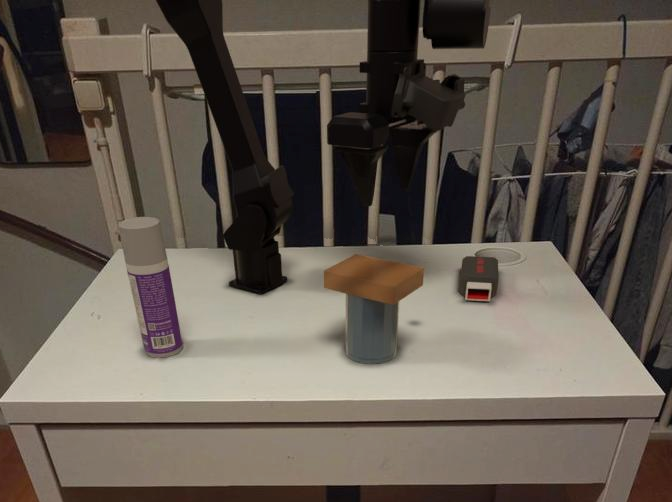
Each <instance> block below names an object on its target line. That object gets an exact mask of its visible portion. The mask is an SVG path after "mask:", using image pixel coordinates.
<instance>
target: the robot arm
mask: <svg viewBox="0 0 672 502" xmlns="http://www.w3.org/2000/svg"><path fill="white" fill-rule="evenodd" d="M155 2H156V4H157V6H158V8H159V10H160V11H161V13H162V15H163V18H164V19H165V21H166V22H167V24H168V25H169V27H170V28H171V29H172V30H173V32H175V33H176V35H177V36H178V38H179V39H180V40H181V41H182V42H183V44H184V45H185V47H186V49H187V51H188V54H189V56H190V59H191V62H192V65H193V67H194V70H195V73H196V75H197V78H198V81H199V84H200V86H201V89H202V91H203V95H204V97H205V100H206V102H207V105H208V108H209V110H210V112H211V116H212V120H213V122H214V124H215V126H216V130H217V132H218V135H219V137H220V140H221V143H222V146H223V148H224V151H225V154H226V157H227V159H228V162H229V165H230V167H231V173H232V199H233V204H234V208H235V213H236V218H235V219H234V221H232V222H231V224H230V225H229V226H228V228H227V229H226V230H225V231H224V232H223V234H222V237H223V239H224V242H225V244H226V247H227V249H229V250H230V251H232V257H233V264H234V274H235V278H234V279H232V280H230V281H229V282H228V286H229V287H233V288H237V289H240V290H244V291H248V292H252V293H256V294H264V293H266V292H268V291H270V290H272V289H274V288H276V287H278V286H280V285H282V284H283V283H286V282H288V276H285V275H283V266H282V254H281V252H280V249H279V246H280V245H279V241H278V240H275V238H274V237H276V236H277V235H279V234H280V233H281V230H282V226H283V224H285V223H286V222H287V221H288V219H289V218H290V216H291V213H292V212H293V200H292V198H293V197H294V196H295V192H294V191H293V190H292V189H291V186H290V184H289V180H288V176H287V171H286V168H285V166H284V165H280V166H278V167H277V168H275V167H274V166H273V165H272V163H271V162H270V161H269V160H268V158H267V156H266V155H265V153H264V150H263V147H262V145H261V142H260V138H259V136H258V133H257V130H256V127H255V124H254V121H253V117H252V115H251V112H250V109H249V105H248V103H247V100H246V97H245V94H244V91H243V88H242V86H241V83H240V80H239V77H238V73H237V71H236V67H235V65H234V62H233V59H232V56H231V53H230V50H229V47H228V44H227V42H226V39H225V35H224V22H223V21H224V20H223V19H224V18H223V8H224V7H223V0H155ZM421 3H422V2H421V0H367V37H366V38H367V42H366V43H367V44H366V60H364V61H360V62H359V74H360V73H361V74H366V91H365V93H366V94H365V95H366V96H365V97H366V99H365V100H366V101H365V102H361V103H358V112H353V111H350V112H345V113H342V114H338V115H337V114H336V115H334V116H332V118H331V119H330V120H329V121H328V123H327V124H326V144H327V145H328V146H330V145H331V146H333V150H334V152H338V154H339V155H340V158H341V160H342V161H343V163H344V165H345V167H346V170H347V171H348V173H349V175H350V178H351V180H352V182H353V184H354V187H355V190H356V191H357V194H358V195H359V198H360V201H361V203H362V205H363V206H364V207H372V206H373V202H374V196H375V191H376V183H377V182H376V181H377V174H378V173H377V172H378V163H379V160H380V159H381V158H382V156H383V155H384V154H385V152H387V150H388V149H389V145H385V144H386V142H387V139H388V137H389V135H390V141H391V146H392V154H393V159H394V164H395V171H396V176H397V181H398V185H399V186H398V187H399V189H400V190H404V191H407V190H408V189H410V185H411V183H412V180H413V176H414V174H415V171H416V168H417V166H418V165H417V164H418V162H419V159H420V156H421V153H422V150H423V148H424V145H425V143H426V142H427V141H429V139H430V138H432V137H433V136H434V135H435V134H436V133H438V132H439V131H442V130H444V128H447V127H449V128H451V127H453V125H454V122H455V120H456V117H457V114H458V113H459V111H461V110H463V109H464V108H465V106H466V102H465V98H466V96H467V95H466V93H465V78H463V77H461V76H459V75H457V74H455V73H453V74H449V75H447V76H445V78H444V79H443V80H440V79H438V78H437V79H432V78H430V77H428V76H427V75H426V73H427V71H426V70H427V63H426V62H425V59H424V58H418V54H419V36H420V21H421V20H420V19H421V18H420V17H421ZM491 9H492V7H491V6H490V0H423V10H422V37H423V39H426V40H430V42H431V43H430V44H431V48H432V50H473V49H474V50H475V49H477V50H478V49H479V50H480V49H481V50H484V49H485V48H486V43H487V38H488V34H489V27H490V17H491V12H492V11H491ZM440 81H441V82H440Z"/></svg>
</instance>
